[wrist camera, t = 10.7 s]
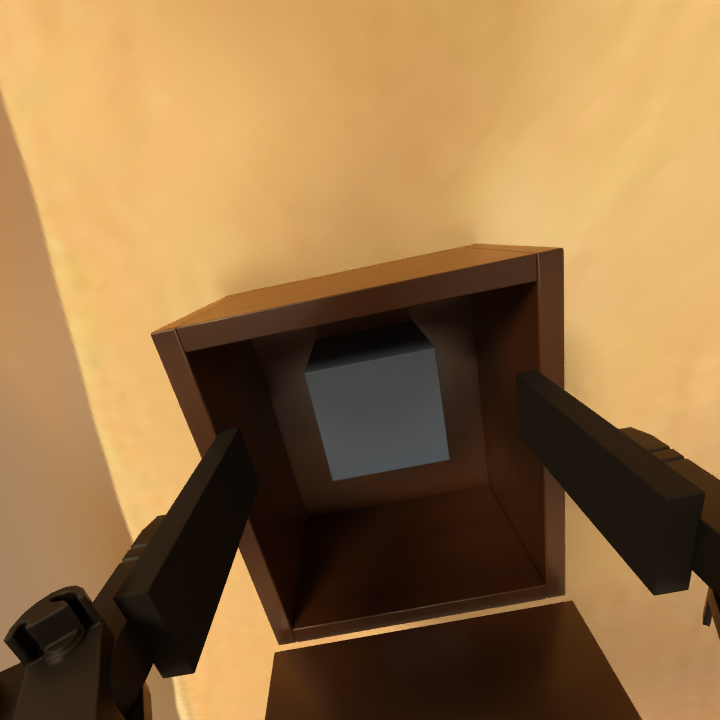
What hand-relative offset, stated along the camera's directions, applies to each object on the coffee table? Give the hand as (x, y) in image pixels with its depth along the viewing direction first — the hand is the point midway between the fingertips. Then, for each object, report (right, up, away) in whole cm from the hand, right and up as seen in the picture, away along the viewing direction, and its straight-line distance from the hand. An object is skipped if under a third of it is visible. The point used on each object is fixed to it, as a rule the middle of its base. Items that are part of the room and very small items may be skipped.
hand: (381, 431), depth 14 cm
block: (0, +2, +6) cm, 7 cm away
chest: (0, 0, +8) cm, 8 cm away
